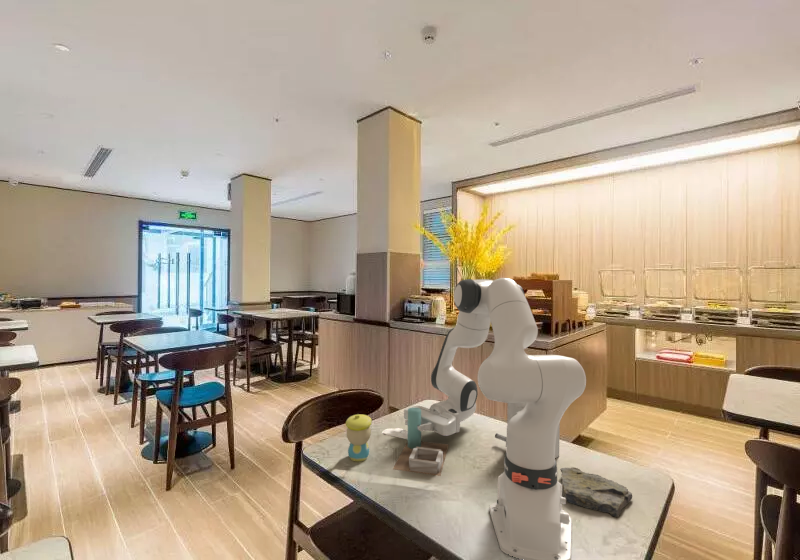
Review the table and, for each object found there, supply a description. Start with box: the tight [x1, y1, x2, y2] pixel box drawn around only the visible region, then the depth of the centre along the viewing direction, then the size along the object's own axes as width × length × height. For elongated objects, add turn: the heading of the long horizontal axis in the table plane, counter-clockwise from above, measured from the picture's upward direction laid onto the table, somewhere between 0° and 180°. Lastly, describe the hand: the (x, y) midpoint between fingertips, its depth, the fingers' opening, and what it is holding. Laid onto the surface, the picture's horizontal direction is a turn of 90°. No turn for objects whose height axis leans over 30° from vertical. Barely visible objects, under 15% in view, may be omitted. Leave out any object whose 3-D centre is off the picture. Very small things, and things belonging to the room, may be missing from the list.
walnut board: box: [392, 440, 450, 477], centre depth 117 cm, size 20×14×4 cm
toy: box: [345, 413, 373, 462], centre depth 116 cm, size 8×9×15 cm
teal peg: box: [407, 408, 422, 449], centre depth 124 cm, size 4×4×12 cm
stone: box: [559, 466, 633, 518], centre depth 99 cm, size 18×15×4 cm
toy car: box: [381, 427, 408, 440], centre depth 134 cm, size 6×12×3 cm, turn 63°
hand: (412, 425), depth 123 cm, fingers closed on teal peg, 4 cm apart
